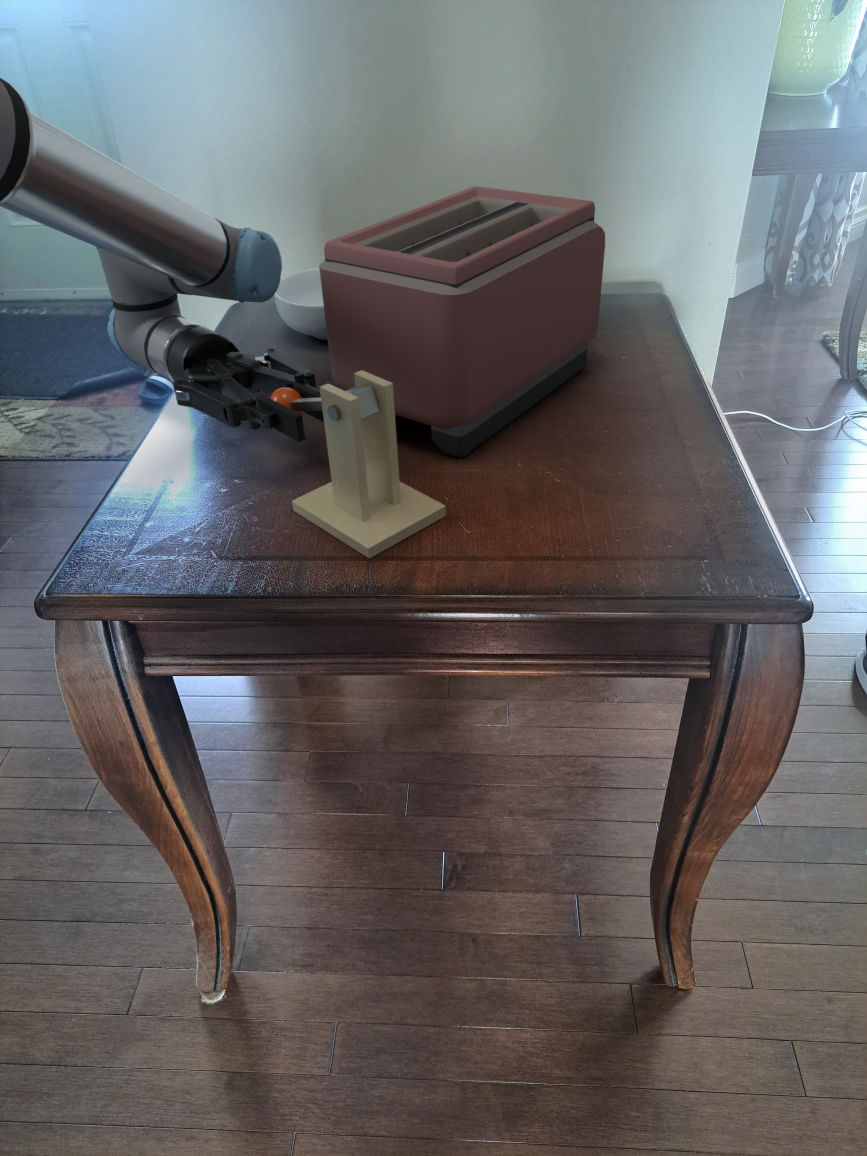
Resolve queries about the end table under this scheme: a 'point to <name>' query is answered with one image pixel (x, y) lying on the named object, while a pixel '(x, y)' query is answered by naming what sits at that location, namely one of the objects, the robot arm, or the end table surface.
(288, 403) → the lever
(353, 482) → the bracket
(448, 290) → the toaster
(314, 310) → the cereal bowl
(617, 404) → the end table surface
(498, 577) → the end table surface
